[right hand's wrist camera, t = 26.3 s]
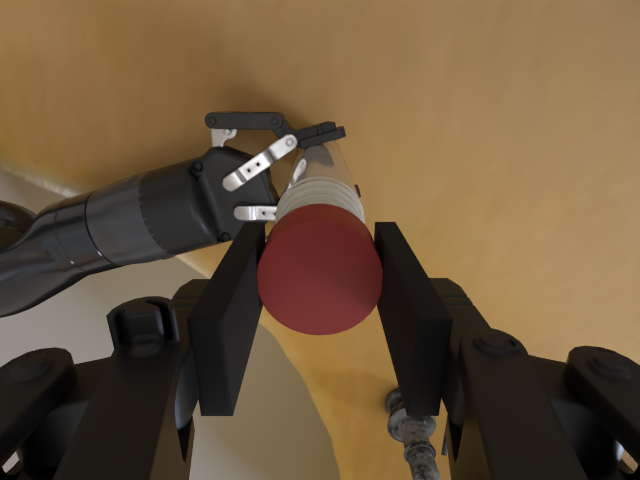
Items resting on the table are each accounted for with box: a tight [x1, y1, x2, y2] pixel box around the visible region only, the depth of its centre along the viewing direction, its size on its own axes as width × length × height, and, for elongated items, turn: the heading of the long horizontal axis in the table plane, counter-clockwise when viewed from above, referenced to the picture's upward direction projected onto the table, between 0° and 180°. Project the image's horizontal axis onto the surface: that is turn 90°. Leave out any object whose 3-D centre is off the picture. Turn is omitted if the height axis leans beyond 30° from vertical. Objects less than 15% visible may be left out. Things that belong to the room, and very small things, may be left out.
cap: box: [257, 204, 383, 335], centre depth 13 cm, size 4×4×2 cm
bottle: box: [275, 141, 364, 224], centre depth 25 cm, size 4×4×26 cm
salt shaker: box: [385, 388, 440, 480], centre depth 42 cm, size 6×6×12 cm
